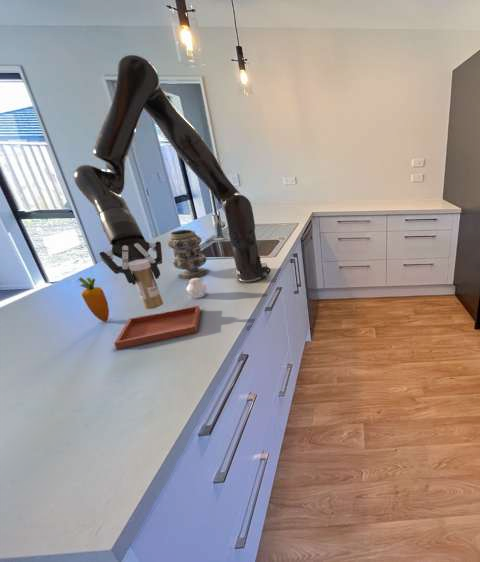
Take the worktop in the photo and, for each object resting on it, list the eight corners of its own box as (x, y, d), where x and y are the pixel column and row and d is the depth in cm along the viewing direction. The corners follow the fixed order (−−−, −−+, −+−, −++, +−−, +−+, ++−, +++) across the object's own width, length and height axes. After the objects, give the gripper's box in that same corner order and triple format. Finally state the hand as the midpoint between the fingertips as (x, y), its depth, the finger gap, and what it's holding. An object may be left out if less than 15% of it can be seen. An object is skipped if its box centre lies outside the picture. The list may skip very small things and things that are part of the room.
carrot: (119, 319, 93) (100, 274, 87) (102, 327, 89) (80, 281, 83) (109, 316, 95) (89, 273, 88) (91, 324, 90) (69, 279, 84)
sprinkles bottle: (163, 306, 84) (148, 262, 79) (144, 311, 82) (126, 265, 76) (163, 300, 88) (148, 257, 82) (144, 304, 85) (128, 260, 80)
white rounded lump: (211, 295, 107) (206, 277, 104) (193, 301, 103) (187, 283, 100) (205, 290, 111) (200, 273, 108) (186, 296, 107) (181, 278, 104)
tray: (200, 310, 97) (198, 305, 96) (196, 332, 86) (194, 326, 85) (131, 324, 90) (128, 318, 89) (116, 349, 79) (114, 343, 78)
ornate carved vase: (215, 271, 128) (204, 230, 120) (186, 281, 119) (173, 237, 111) (199, 266, 134) (188, 226, 126) (171, 275, 125) (157, 233, 117)
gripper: (84, 225, 75) (109, 282, 73) (151, 216, 85) (176, 266, 82) (90, 241, 81) (114, 294, 78) (152, 231, 90) (176, 278, 88)
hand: (146, 279), depth 80 cm, fingers closed on sprinkles bottle, 4 cm apart
